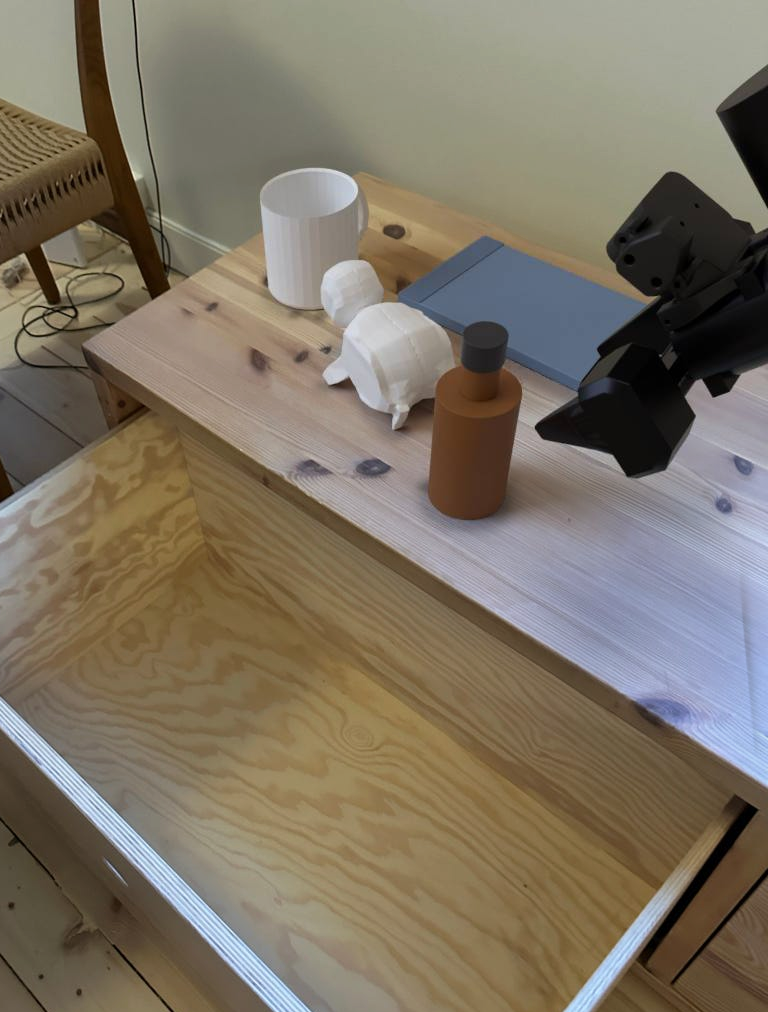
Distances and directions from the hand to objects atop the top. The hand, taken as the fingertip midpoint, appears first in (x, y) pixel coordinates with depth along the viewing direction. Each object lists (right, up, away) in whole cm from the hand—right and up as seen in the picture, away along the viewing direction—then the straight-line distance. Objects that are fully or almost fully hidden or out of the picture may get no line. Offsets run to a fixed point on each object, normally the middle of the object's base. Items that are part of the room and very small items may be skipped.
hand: (570, 391), depth 59 cm
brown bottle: (-4, -5, +13) cm, 14 cm away
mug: (-15, +20, +32) cm, 40 cm away
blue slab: (+5, +13, +25) cm, 29 cm away
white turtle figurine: (-10, +7, +22) cm, 25 cm away
